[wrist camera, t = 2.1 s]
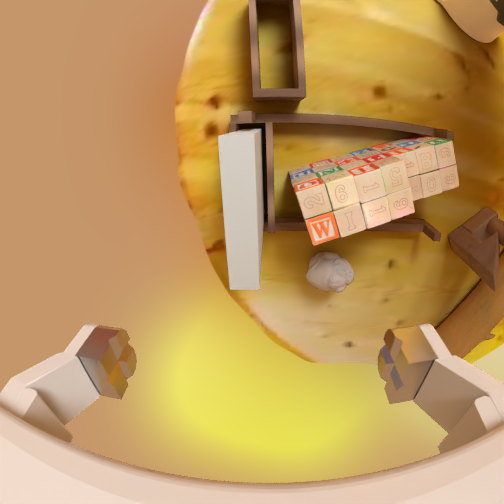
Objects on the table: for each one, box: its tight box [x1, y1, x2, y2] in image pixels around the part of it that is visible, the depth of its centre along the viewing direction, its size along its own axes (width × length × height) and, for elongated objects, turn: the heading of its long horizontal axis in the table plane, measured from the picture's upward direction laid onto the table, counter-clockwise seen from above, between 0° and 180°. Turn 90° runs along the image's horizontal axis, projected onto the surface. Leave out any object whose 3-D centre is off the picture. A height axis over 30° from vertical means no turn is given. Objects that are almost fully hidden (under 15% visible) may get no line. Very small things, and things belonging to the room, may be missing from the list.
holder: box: [248, 0, 306, 101], centre depth 27 cm, size 16×6×6 cm, turn 2°
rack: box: [229, 111, 454, 241], centre depth 32 cm, size 16×30×12 cm, turn 92°
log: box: [435, 252, 504, 359], centre depth 39 cm, size 38×10×10 cm, turn 145°
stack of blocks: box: [289, 135, 459, 246], centre depth 31 cm, size 21×6×12 cm, turn 111°
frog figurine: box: [305, 251, 354, 293], centre depth 40 cm, size 6×7×7 cm
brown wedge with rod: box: [448, 207, 504, 292], centre depth 31 cm, size 4×11×18 cm, turn 126°
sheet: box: [218, 128, 264, 290], centre depth 29 cm, size 12×2×20 cm, turn 2°
